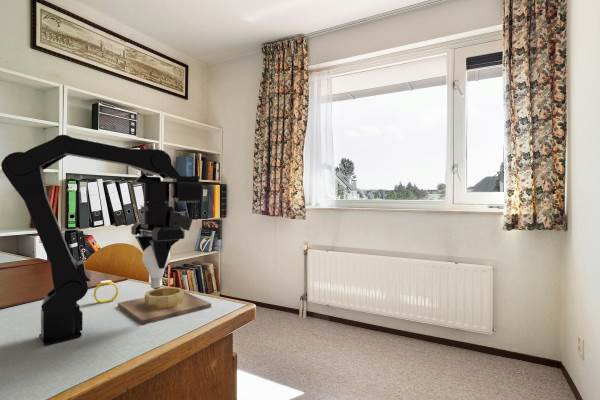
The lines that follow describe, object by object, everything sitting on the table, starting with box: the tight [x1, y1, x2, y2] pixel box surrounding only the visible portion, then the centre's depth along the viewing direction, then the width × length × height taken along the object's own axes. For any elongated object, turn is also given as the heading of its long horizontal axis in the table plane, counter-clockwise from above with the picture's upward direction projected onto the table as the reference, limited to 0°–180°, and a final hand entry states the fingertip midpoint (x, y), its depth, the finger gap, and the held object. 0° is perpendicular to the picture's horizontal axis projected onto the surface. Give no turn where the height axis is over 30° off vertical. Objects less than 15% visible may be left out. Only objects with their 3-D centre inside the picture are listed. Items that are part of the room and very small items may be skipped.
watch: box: [93, 279, 119, 304], centre depth 94 cm, size 6×3×6 cm, turn 127°
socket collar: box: [144, 286, 185, 309], centre depth 90 cm, size 10×10×3 cm
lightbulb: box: [141, 245, 171, 290], centre depth 80 cm, size 6×6×11 cm
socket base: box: [117, 291, 212, 325], centre depth 90 cm, size 18×18×1 cm
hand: (156, 266), depth 80 cm, fingers closed on lightbulb, 6 cm apart
